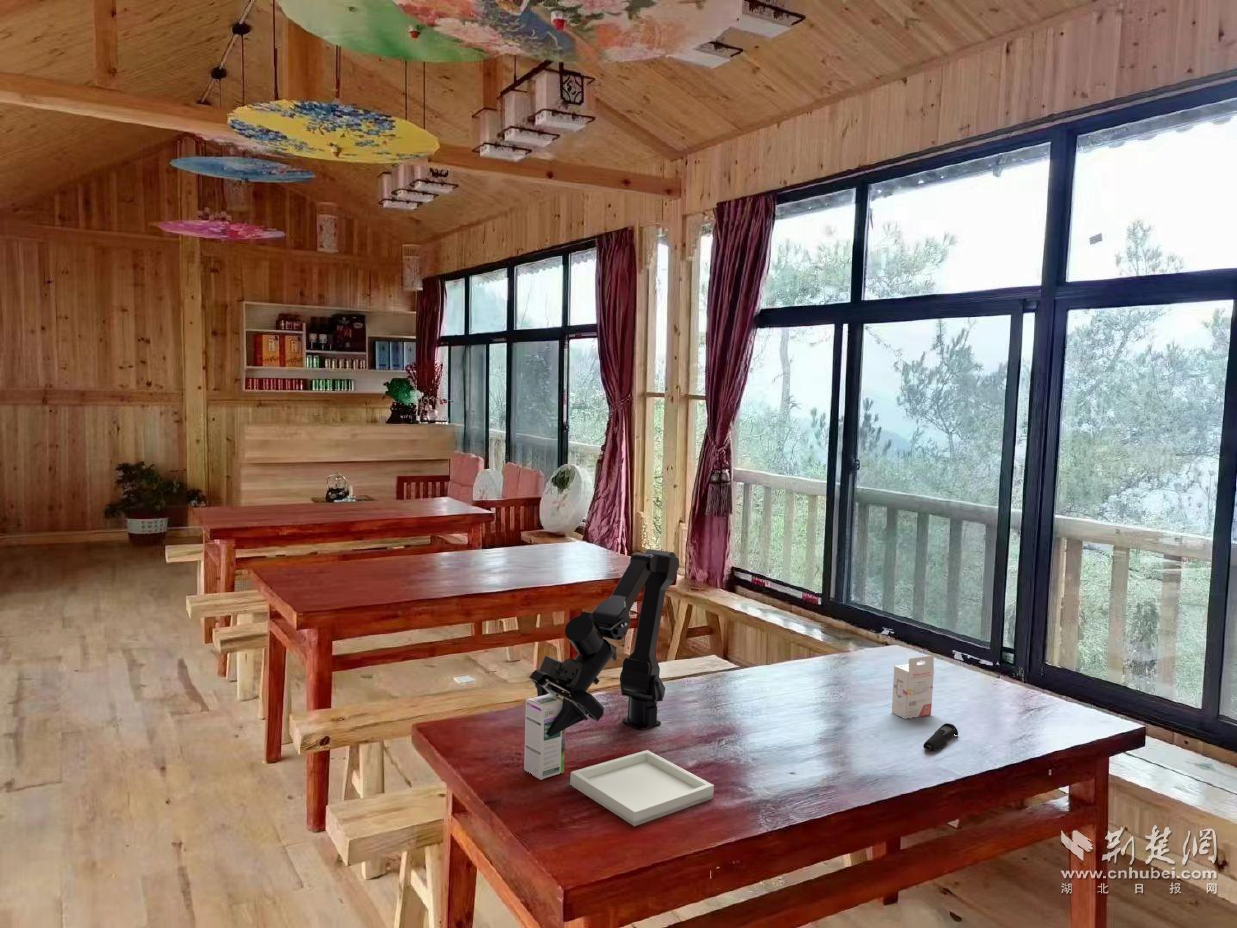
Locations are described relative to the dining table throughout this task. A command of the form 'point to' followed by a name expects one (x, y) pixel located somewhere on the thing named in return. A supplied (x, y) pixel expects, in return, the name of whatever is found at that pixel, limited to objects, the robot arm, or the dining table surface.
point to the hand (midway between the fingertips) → (539, 730)
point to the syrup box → (543, 737)
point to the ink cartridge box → (913, 688)
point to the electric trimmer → (940, 737)
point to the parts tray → (641, 787)
